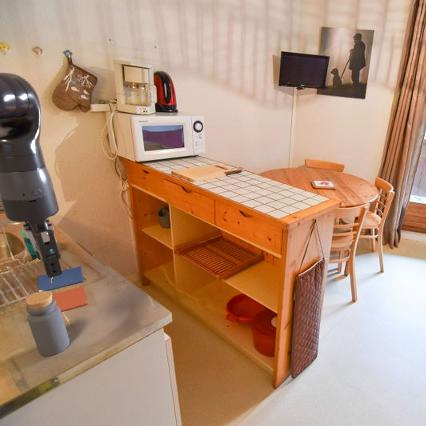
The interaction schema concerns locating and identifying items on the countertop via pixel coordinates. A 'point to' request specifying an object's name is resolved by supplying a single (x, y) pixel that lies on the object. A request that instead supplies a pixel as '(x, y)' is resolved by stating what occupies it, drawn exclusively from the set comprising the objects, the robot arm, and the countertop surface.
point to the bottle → (46, 323)
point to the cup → (30, 245)
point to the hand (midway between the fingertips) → (49, 266)
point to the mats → (68, 297)
